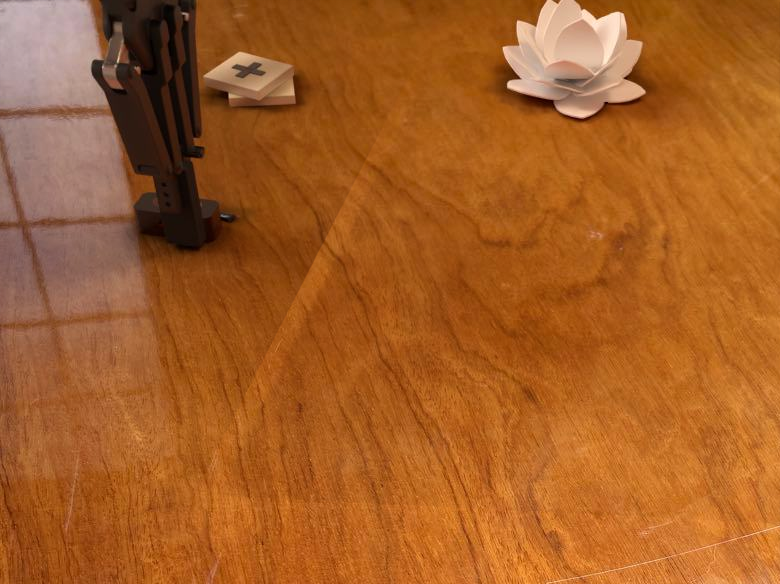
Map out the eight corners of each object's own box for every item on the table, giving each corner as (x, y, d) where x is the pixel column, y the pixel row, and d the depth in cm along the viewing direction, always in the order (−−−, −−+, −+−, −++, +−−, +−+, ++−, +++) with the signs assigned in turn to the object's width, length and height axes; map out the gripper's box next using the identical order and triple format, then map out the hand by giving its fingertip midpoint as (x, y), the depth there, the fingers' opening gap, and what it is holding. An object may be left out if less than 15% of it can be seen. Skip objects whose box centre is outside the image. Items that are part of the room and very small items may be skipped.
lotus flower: (640, 54, 122) (654, -28, 115) (644, 140, 113) (659, 57, 106) (503, 42, 121) (508, -42, 114) (496, 127, 112) (501, 43, 105)
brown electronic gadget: (224, 256, 93) (218, 220, 91) (139, 245, 94) (130, 208, 91) (244, 226, 96) (238, 190, 94) (161, 214, 97) (153, 179, 94)
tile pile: (202, 114, 109) (196, 82, 107) (229, 78, 114) (224, 47, 112) (290, 125, 108) (286, 93, 106) (313, 88, 114) (310, 57, 111)
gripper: (140, -40, 70) (203, 293, 87) (215, -110, 79) (259, 204, 96) (20, -53, 70) (106, 280, 87) (109, -121, 79) (171, 193, 96)
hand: (186, 240), depth 92 cm, fingers closed
